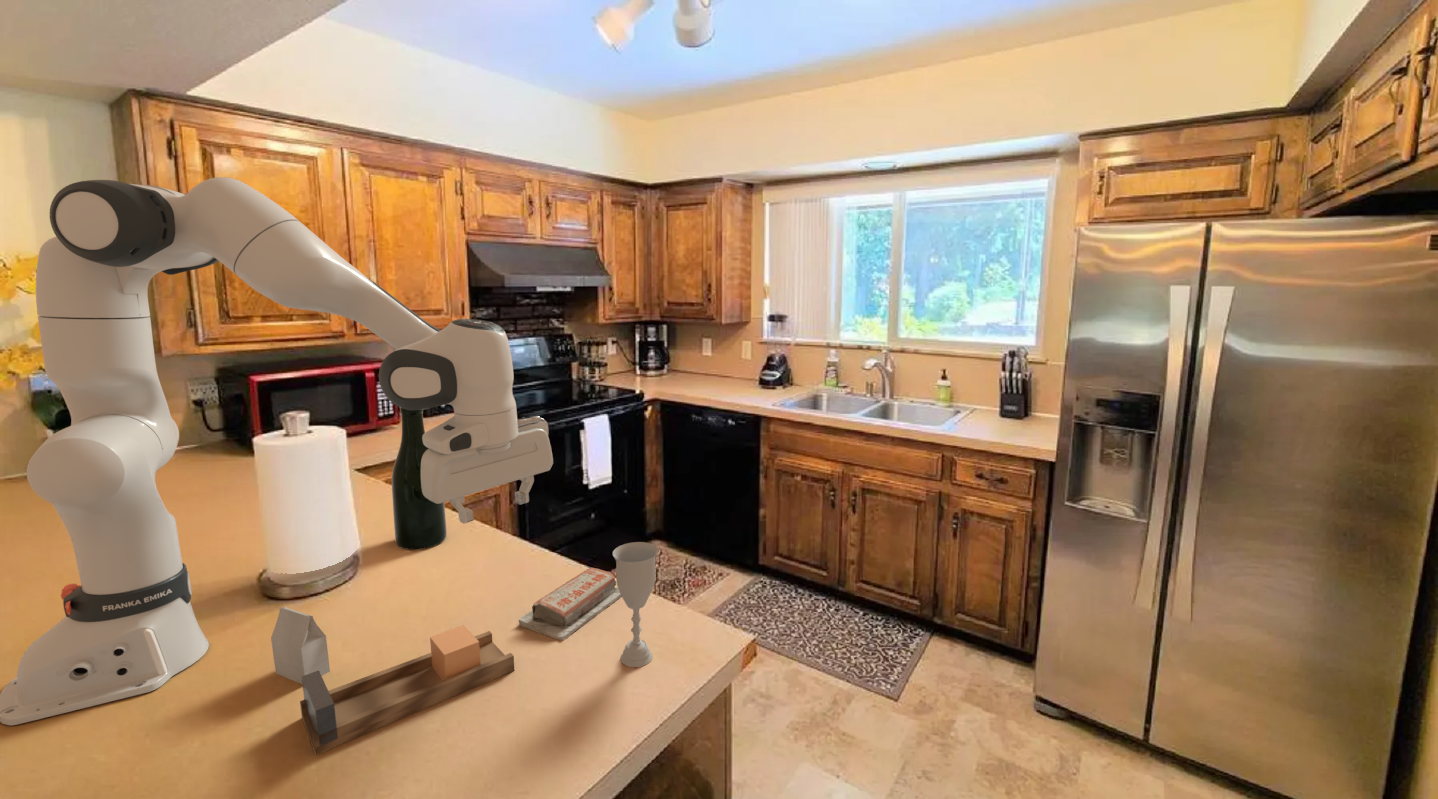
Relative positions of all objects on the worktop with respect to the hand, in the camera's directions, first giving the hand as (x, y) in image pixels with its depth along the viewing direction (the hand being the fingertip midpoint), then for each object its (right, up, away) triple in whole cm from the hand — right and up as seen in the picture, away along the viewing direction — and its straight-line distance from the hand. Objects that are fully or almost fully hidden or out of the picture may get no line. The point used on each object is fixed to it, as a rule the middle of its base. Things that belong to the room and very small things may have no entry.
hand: (495, 511), depth 97 cm
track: (-9, -25, -8) cm, 27 cm away
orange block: (-5, -24, -4) cm, 25 cm away
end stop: (-17, -25, -16) cm, 34 cm away
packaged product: (+9, -21, +16) cm, 28 cm away
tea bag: (-28, -24, -4) cm, 37 cm away
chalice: (+22, -24, +2) cm, 32 cm away
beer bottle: (-32, -15, +43) cm, 56 cm away
